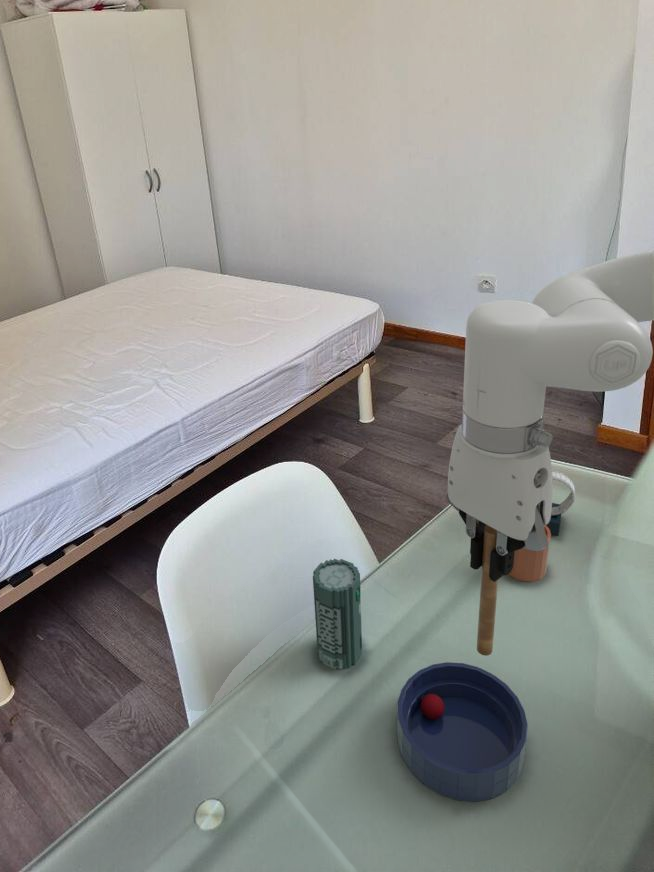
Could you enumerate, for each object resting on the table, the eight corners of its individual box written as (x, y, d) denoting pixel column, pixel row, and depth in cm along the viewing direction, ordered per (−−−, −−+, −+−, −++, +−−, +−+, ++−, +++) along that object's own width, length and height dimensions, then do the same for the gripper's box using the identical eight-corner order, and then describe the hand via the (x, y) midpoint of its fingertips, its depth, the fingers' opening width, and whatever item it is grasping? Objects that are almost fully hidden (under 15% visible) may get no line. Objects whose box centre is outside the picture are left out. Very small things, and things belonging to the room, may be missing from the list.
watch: (523, 511, 125) (528, 461, 120) (571, 520, 122) (578, 469, 117) (519, 530, 120) (525, 479, 116) (569, 540, 117) (576, 487, 112)
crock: (553, 570, 111) (559, 531, 108) (529, 590, 108) (534, 550, 104) (518, 550, 116) (522, 512, 113) (494, 568, 113) (497, 529, 109)
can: (368, 648, 100) (366, 568, 93) (348, 678, 96) (345, 597, 89) (332, 631, 103) (328, 553, 97) (311, 660, 99) (305, 580, 92)
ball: (433, 684, 89) (431, 699, 91) (416, 696, 88) (414, 710, 90) (450, 702, 87) (448, 716, 89) (433, 714, 86) (431, 729, 87)
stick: (495, 650, 81) (505, 528, 73) (486, 658, 80) (495, 536, 72) (482, 641, 82) (491, 521, 74) (473, 649, 81) (480, 528, 74)
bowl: (549, 750, 84) (553, 719, 82) (468, 832, 76) (471, 802, 74) (451, 671, 95) (452, 643, 93) (372, 737, 87) (371, 707, 85)
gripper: (597, 440, 64) (575, 590, 72) (461, 387, 75) (455, 520, 84) (551, 473, 60) (533, 627, 68) (414, 411, 72) (413, 549, 80)
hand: (490, 567), depth 76 cm, fingers closed on stick, 1 cm apart
